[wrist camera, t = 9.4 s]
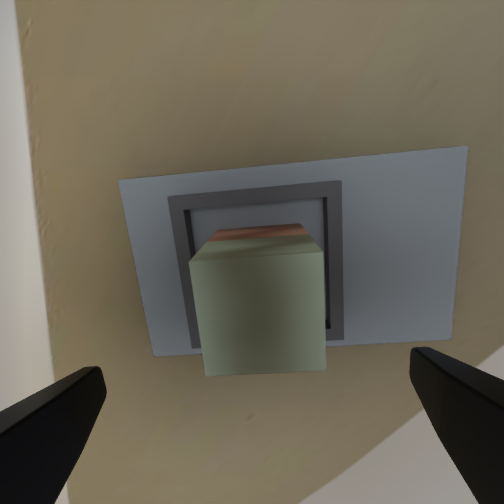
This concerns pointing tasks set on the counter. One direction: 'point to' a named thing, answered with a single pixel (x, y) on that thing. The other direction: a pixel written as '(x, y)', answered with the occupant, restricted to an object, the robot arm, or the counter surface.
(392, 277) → the nest board
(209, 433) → the counter surface
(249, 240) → the brick stack
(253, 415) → the counter surface
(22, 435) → the robot arm
